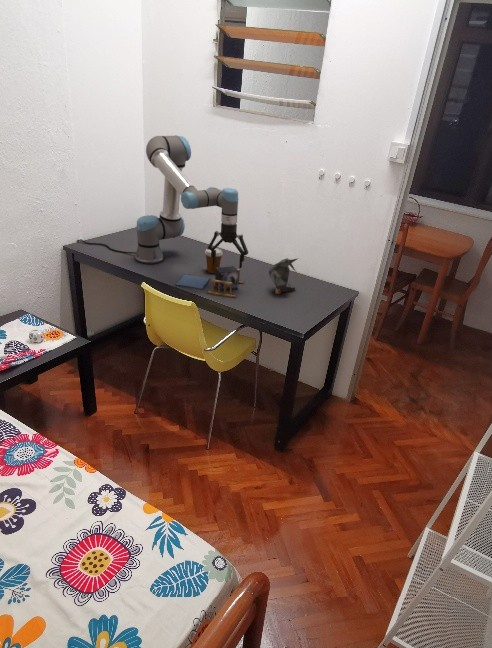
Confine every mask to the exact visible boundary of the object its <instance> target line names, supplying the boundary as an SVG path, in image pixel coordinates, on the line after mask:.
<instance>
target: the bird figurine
mask: <svg viewBox="0 0 492 648" xmlns="http://www.w3.org/2000/svg"><path fill="white" fill-rule="evenodd" d="M297 260H299V257H298V258H294V259H293V258H292V259H290V258H289V257H287V258H284V259H281V260H280V261H278V262H276V263H275V264H273V265H272V267H270V268H269V271H268V275H269V279H270V280H271V282H272V283H273V285H274V286H275V291H274V293H275V294H277V295H280V294H282V293H284V292H285V293H286V292H294V291H296V287H295V286H292V285H291V284H289V283H288V281H289V276H290V268H291V269H292V270H293V271H294V272H295V273H296V274H297V271H296V269H295V267H294V265H293V263H294V262H296V261H297Z"/></svg>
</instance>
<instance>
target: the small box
mask: <svg viewBox="0 0 492 648" xmlns="http://www.w3.org/2000/svg"><path fill="white" fill-rule="evenodd" d="M237 269H238V268H236V267H235V266H234V265H232V266H220V267H218V268H216V272H215V273H214V274H215V275H214V280H220V281H226V282H232V291H233V290H238V284H239V283H238V272H239V271H238V270H237ZM214 288H216V290H217V291H218V283H217V282H214ZM222 291H223V292H224V283H220V292H222ZM226 291H230V284H226Z"/></svg>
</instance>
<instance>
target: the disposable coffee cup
mask: <svg viewBox="0 0 492 648" xmlns="http://www.w3.org/2000/svg"><path fill="white" fill-rule="evenodd" d="M215 250H216V263H215V264H213V257H211V250H208V249H207V248H206V249H205V251H204V255H205V260H206V261H205V262H206V270H207V272H208V273H209V274H215V272H216V268H218V267H221V261H222V256H223V250H222V249H221V248H218V247H217V248H216V249H215Z"/></svg>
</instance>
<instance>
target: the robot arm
mask: <svg viewBox="0 0 492 648" xmlns="http://www.w3.org/2000/svg"><path fill="white" fill-rule="evenodd" d="M145 146H146V147H145V154H146V157H147V160H148V161H149V163H150V164H151V165H152V166H153V167H154V168H155V169H158V170H159V171H160V173H161V174H162V175H163V177H164V178H163V179H164V180H163V181H164V183H163V198H162V210H161V211H160V212H159V217H158V216H156V215H153V214H151V215H149V214H148V215H147V214H146V215H142V216H140V217H139V218H138V219H137V220H136V236H137V237H136V238H137V248H136V251H124V250H117V249H115V248H111V247H110V246H109V245H108V244H107V243H100V242H89V241H85V240H83V239H80V240H79V239H76V242H77V243H78V242H82V243H84V244H88V245H98V246H99V245H100V246H101V245H102V246H105V247H107V248H108V249H109V250H111V251H114V252H118V253H122V254H135V257H134V258H135V261H136V262H137V263H140V264H144V265H155V264H156V265H157V264H160V263H162V262H163V261H164V254H163V252H162V249H161V246H160V241H163V240H167V239H175V238H178V237H181V236H182V235H183V234H184V232H185V227H186V226H185V224H186V223H185V220H184V218H183V217H182V214H181V213H180V211H179V210H180V202H181V205H182V207H183V208H184V209H186V210H195V209H201V208H208V207H209V208H210V207H218V208H221V218H220V221H221V223H220V231H218V230H215V231H214V232H213V237H212V238H211V240H210V242H209V244H208V246H207V248H206V249H208V250H211V257H213V264H215V263H216V250H215V249H216V248H218V247H219V246H220V245H221V244H222V243H223V242H224V243H225V244H226V243H229V244H233V245H234V247H235V248H236V249H237V251H238V252H239V253H240V254H239V264H238V265H239V266H238V267H239V268H238V269H242V267H243V262H244V261H245V256H248V255H249V249H248V247H247V244H246V243H245V240H244V235H243V233H241V234H238V233H237V230H238V229H237V228H238V224H237V223H238V212H239V211H238V210H239V191H238V190H237V189H236V188H232V187H225V188H223V189H219V188H218V187H214V186H210V187H207V188H206V189H201V190H199V189H197V188H196V186H195V185H194V184H193V183H192V182H191V180H189V179H188V177H187V176H186V175H185V174H184V173H183V169H184V168H186V162H188V161H189V160H190V159H191V158H192V148H191V145H190V143H189V140H187V138H186V137H185V136H183V135H177V134H176V135H155V136H153V137H151V138H150V139H149V140H148V142H147V144H146V145H145ZM219 236H220V239H219V240H218V241H217V243H215V241H216V240H217V238H218V237H219ZM237 239H238V240H239V242H238V240H237ZM214 243H215V245H214ZM213 245H214V246H213Z"/></svg>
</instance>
